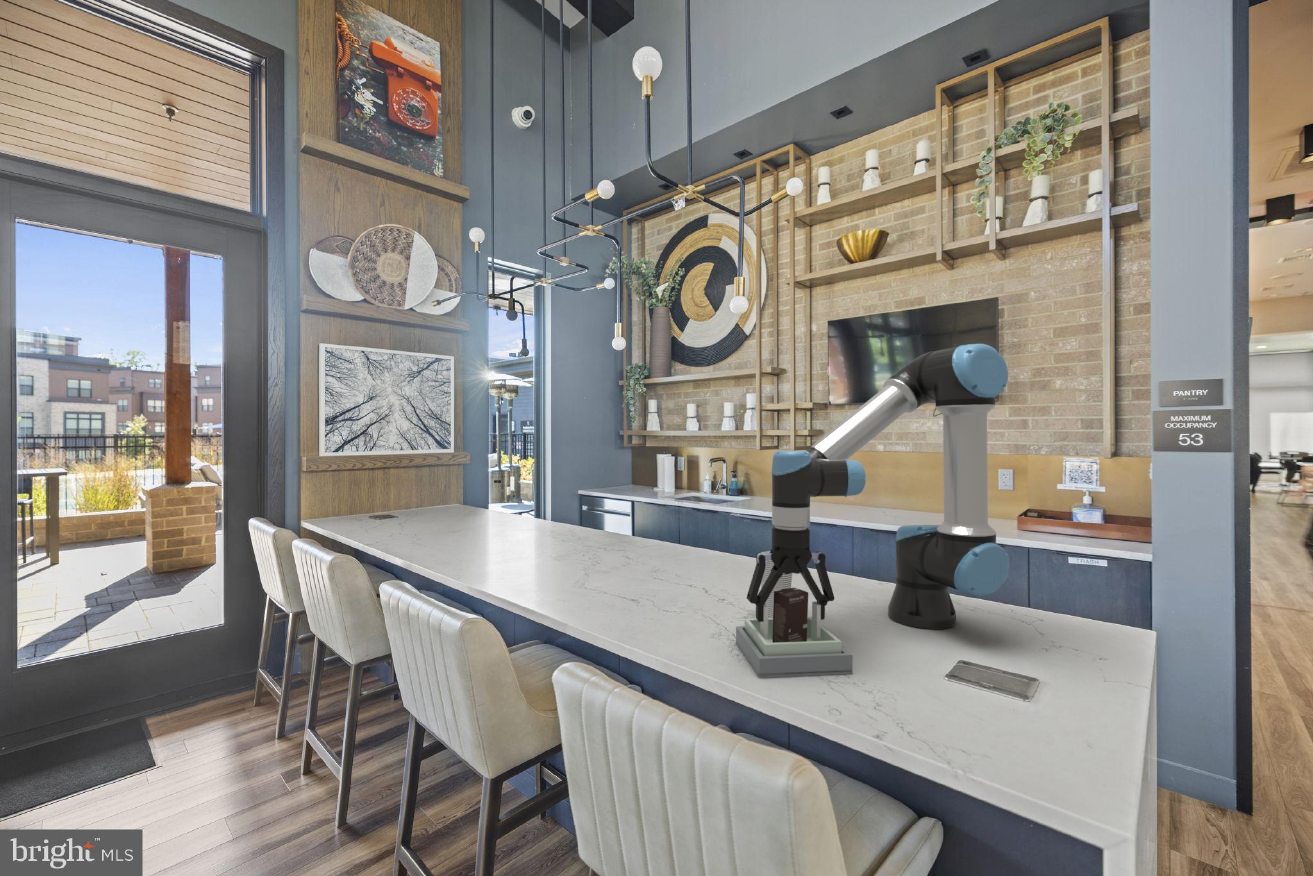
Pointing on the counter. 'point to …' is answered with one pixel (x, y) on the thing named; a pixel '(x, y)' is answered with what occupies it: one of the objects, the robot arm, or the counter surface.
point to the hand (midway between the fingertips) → (790, 636)
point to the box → (790, 615)
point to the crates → (792, 652)
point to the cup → (781, 584)
